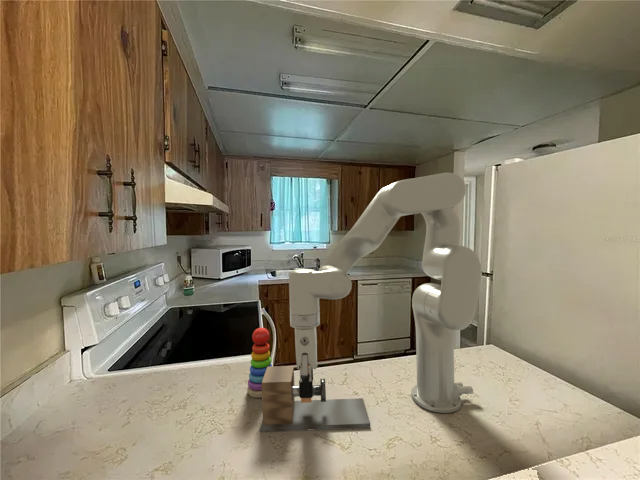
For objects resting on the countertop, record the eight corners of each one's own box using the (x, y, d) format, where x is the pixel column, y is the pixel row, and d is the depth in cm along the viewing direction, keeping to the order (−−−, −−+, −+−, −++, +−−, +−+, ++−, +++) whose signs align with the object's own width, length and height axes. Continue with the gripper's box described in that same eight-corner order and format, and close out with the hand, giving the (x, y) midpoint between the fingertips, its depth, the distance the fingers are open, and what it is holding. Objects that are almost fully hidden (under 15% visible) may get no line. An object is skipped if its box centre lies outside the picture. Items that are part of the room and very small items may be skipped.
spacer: (311, 387, 73) (311, 365, 73) (311, 402, 66) (310, 377, 66) (302, 388, 73) (301, 365, 73) (301, 402, 66) (300, 378, 66)
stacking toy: (268, 400, 77) (266, 333, 76) (242, 398, 78) (240, 332, 78) (278, 385, 84) (276, 324, 84) (254, 383, 86) (252, 323, 86)
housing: (362, 401, 75) (361, 361, 75) (370, 427, 65) (369, 380, 65) (267, 405, 74) (266, 364, 74) (260, 431, 64) (258, 385, 64)
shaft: (325, 394, 72) (324, 374, 72) (326, 406, 67) (325, 385, 67) (265, 396, 72) (264, 376, 72) (261, 409, 67) (260, 387, 67)
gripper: (320, 329, 61) (322, 410, 61) (319, 308, 78) (320, 371, 78) (286, 330, 60) (288, 411, 61) (292, 309, 78) (294, 372, 78)
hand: (306, 388), depth 69 cm, fingers closed on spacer, 6 cm apart
